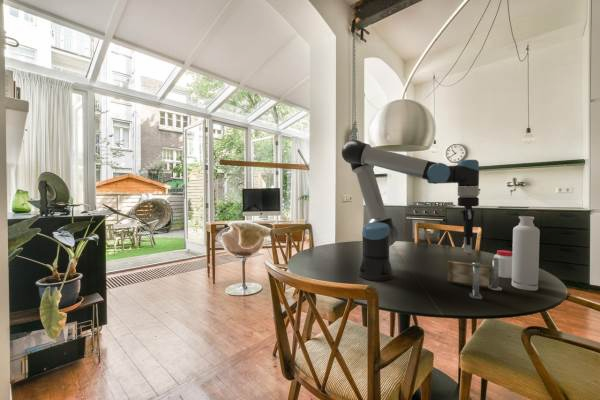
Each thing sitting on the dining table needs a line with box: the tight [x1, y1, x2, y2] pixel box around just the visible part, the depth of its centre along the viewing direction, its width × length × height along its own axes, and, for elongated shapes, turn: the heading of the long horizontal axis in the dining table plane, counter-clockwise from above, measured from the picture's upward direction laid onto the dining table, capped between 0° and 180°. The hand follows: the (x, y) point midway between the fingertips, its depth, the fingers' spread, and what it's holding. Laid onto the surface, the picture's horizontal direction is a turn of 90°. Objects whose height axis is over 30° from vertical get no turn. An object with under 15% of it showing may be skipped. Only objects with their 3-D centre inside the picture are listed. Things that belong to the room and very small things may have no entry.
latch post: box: [468, 261, 483, 300], centre depth 98 cm, size 4×4×12 cm
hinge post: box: [487, 257, 503, 292], centre depth 105 cm, size 4×4×12 cm
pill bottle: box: [493, 249, 512, 279], centre depth 122 cm, size 8×8×11 cm
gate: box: [447, 260, 492, 287], centre depth 109 cm, size 15×2×8 cm, turn 64°
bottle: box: [511, 215, 541, 292], centre depth 107 cm, size 8×8×28 cm
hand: (467, 252), depth 115 cm, fingers closed
